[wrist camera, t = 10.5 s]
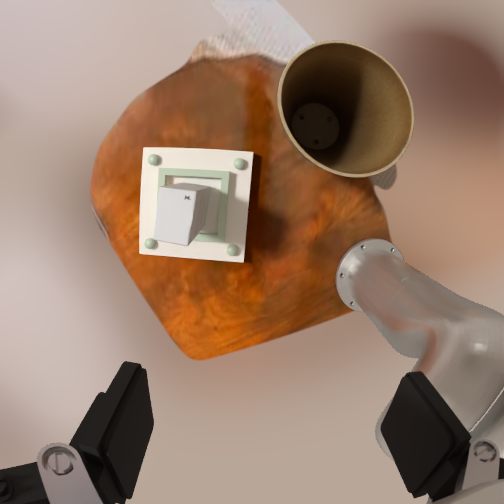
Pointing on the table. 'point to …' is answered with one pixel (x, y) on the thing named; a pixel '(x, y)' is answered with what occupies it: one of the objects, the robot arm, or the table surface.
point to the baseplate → (219, 206)
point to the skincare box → (180, 212)
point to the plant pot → (345, 108)
